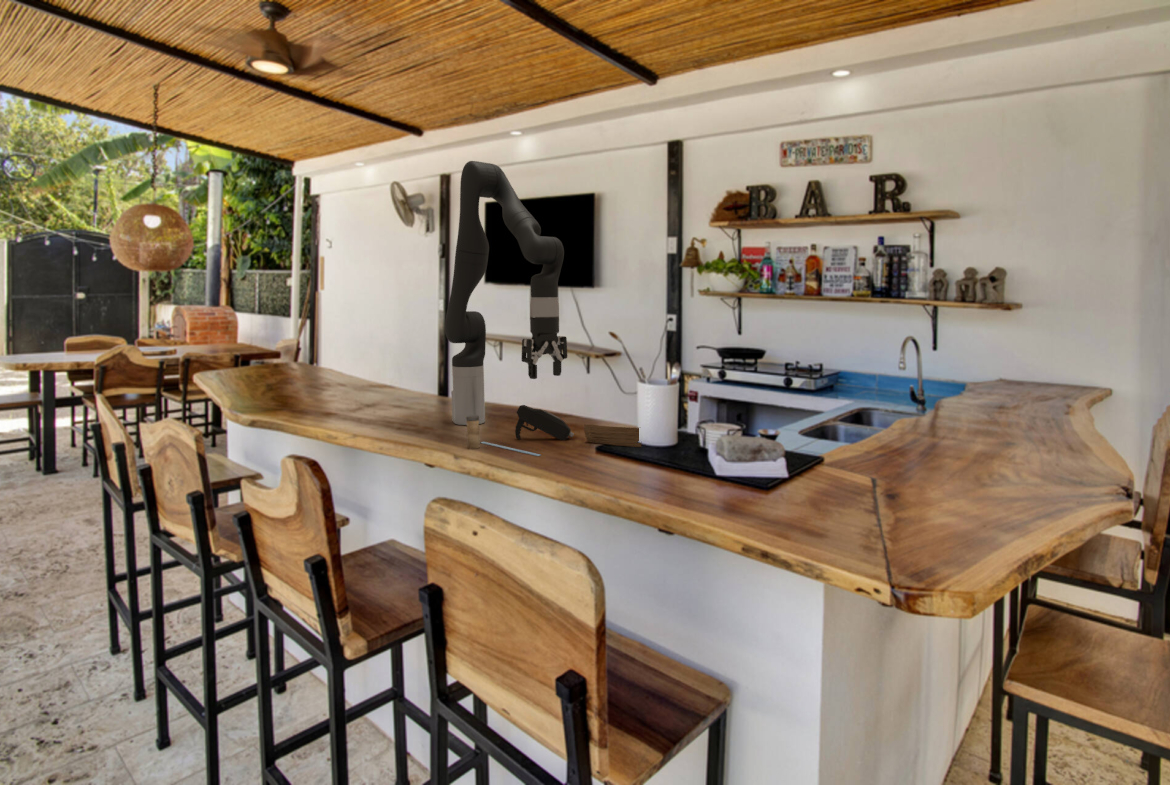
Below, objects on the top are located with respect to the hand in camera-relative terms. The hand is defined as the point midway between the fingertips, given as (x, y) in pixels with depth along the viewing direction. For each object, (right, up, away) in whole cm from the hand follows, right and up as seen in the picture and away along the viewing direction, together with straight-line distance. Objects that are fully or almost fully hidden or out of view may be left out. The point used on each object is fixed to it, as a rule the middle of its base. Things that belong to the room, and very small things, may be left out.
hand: (545, 377), depth 181 cm
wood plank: (+18, -18, -4) cm, 25 cm away
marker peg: (-18, -18, -7) cm, 26 cm away
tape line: (-8, -18, -9) cm, 22 cm away
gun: (0, -17, +3) cm, 17 cm away
